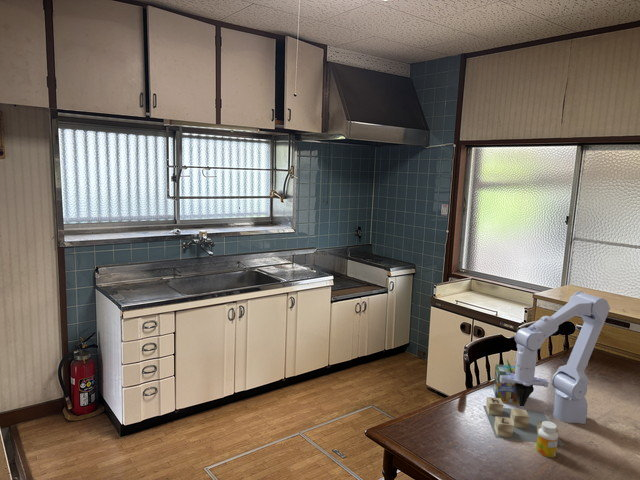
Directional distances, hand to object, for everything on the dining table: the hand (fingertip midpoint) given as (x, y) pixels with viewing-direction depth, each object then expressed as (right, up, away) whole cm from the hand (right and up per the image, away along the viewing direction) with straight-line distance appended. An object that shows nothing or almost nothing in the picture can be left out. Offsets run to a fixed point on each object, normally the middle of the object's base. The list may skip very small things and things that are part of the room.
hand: (521, 404), depth 151 cm
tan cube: (+5, -8, -6) cm, 11 cm away
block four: (-6, -5, +8) cm, 11 cm away
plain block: (0, -7, +1) cm, 7 cm away
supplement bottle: (+1, -10, -13) cm, 17 cm away
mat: (0, -8, +1) cm, 8 cm away
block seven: (-8, -7, -4) cm, 11 cm away
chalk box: (+3, -5, +20) cm, 21 cm away
